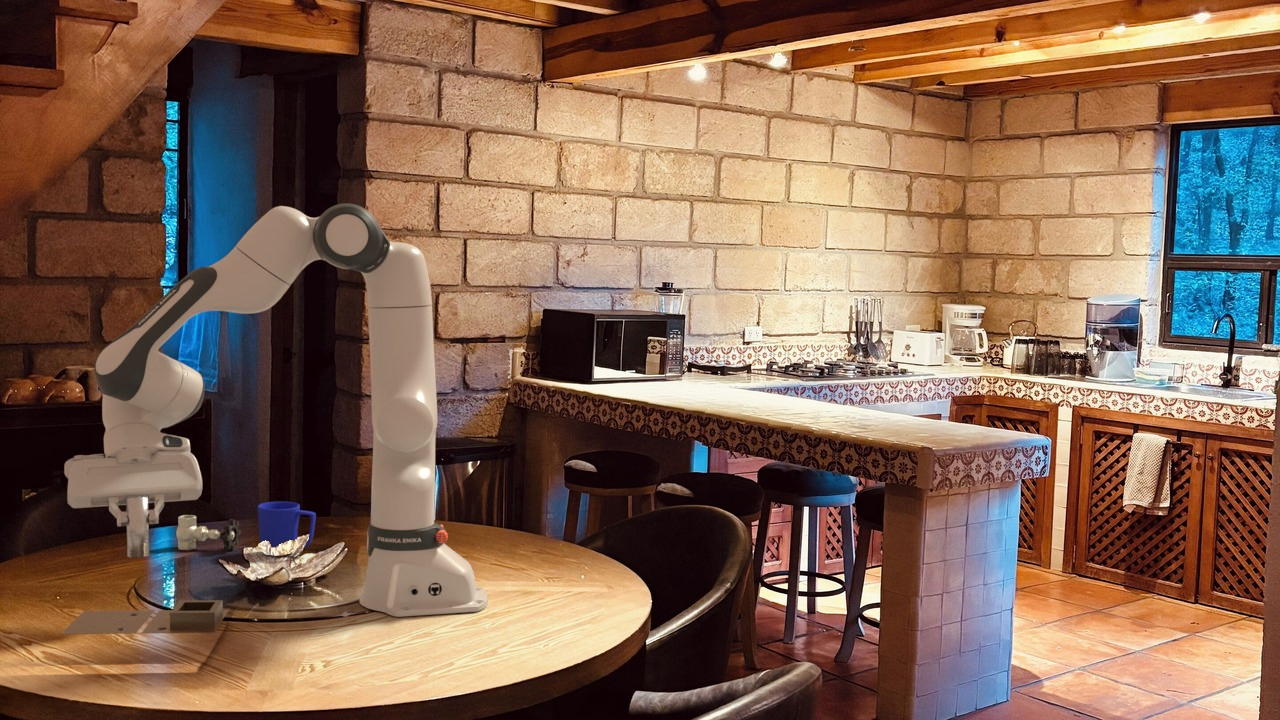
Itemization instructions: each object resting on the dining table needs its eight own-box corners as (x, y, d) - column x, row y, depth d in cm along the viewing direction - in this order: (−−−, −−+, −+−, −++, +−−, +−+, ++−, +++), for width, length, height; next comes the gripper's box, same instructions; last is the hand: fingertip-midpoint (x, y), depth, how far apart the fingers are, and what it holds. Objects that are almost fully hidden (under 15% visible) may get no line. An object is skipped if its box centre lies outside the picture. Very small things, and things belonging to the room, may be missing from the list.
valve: (169, 551, 239) (226, 555, 238) (169, 519, 238) (227, 523, 237) (184, 544, 245) (240, 547, 244) (185, 512, 245) (240, 516, 244)
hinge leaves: (228, 616, 198) (228, 595, 198) (214, 639, 186) (214, 617, 186) (84, 618, 194) (84, 596, 194) (60, 641, 182) (60, 618, 182)
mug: (304, 562, 235) (305, 512, 234) (249, 556, 237) (249, 507, 236) (323, 552, 243) (324, 504, 242) (269, 547, 245) (270, 500, 244)
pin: (151, 552, 191) (150, 495, 190) (146, 557, 188) (145, 499, 187) (130, 552, 190) (129, 495, 189) (125, 558, 187) (123, 499, 186)
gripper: (63, 445, 189) (65, 517, 181) (198, 438, 198) (206, 507, 190) (64, 467, 193) (66, 539, 185) (196, 460, 202) (203, 528, 194)
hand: (138, 523), depth 188 cm, fingers closed on pin, 3 cm apart
